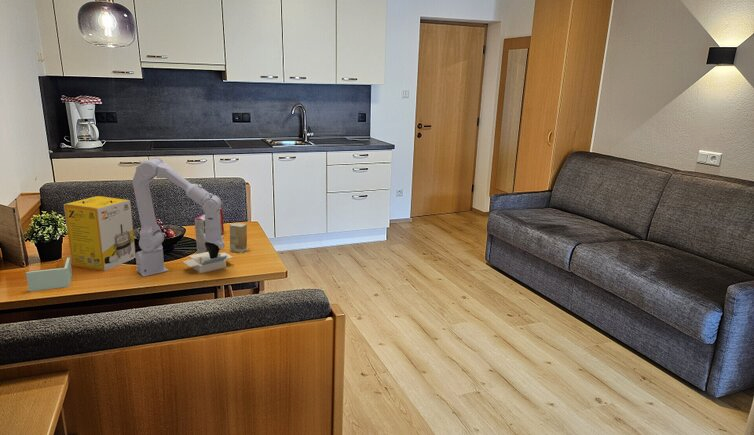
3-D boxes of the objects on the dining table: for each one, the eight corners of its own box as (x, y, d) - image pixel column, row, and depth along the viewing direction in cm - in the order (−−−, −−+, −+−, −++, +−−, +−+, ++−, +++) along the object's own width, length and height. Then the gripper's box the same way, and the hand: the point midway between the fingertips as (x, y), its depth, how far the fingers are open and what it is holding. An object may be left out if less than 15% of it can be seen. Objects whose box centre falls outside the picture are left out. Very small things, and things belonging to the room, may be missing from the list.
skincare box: (229, 251, 216) (228, 225, 213) (234, 248, 221) (233, 222, 217) (243, 253, 215) (242, 226, 212) (247, 250, 219) (246, 223, 216)
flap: (201, 264, 191) (201, 265, 191) (205, 260, 188) (205, 261, 187) (223, 259, 197) (223, 260, 197) (226, 255, 194) (227, 256, 193)
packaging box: (105, 252, 209) (98, 195, 203) (136, 258, 205) (130, 199, 198) (71, 265, 194) (63, 204, 188) (104, 271, 190) (96, 208, 183)
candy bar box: (209, 247, 221) (207, 212, 217) (219, 248, 220) (218, 212, 216) (196, 255, 211) (193, 218, 206) (206, 256, 210) (204, 219, 205)
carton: (191, 275, 189) (190, 262, 187) (178, 266, 198) (177, 253, 196) (234, 265, 200) (233, 252, 199) (220, 257, 209) (219, 244, 208)
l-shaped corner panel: (72, 276, 186) (69, 257, 184) (69, 287, 175) (66, 268, 173) (34, 280, 180) (31, 261, 178) (29, 293, 170) (25, 272, 168)
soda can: (227, 233, 241) (225, 208, 238) (215, 236, 235) (213, 210, 232) (217, 230, 245) (215, 205, 241) (205, 234, 239) (203, 208, 236)
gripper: (231, 230, 186) (232, 263, 190) (214, 221, 196) (215, 252, 200) (213, 233, 182) (215, 267, 185) (197, 223, 192) (198, 256, 195)
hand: (214, 260), depth 192 cm, fingers closed, pressing on flap
